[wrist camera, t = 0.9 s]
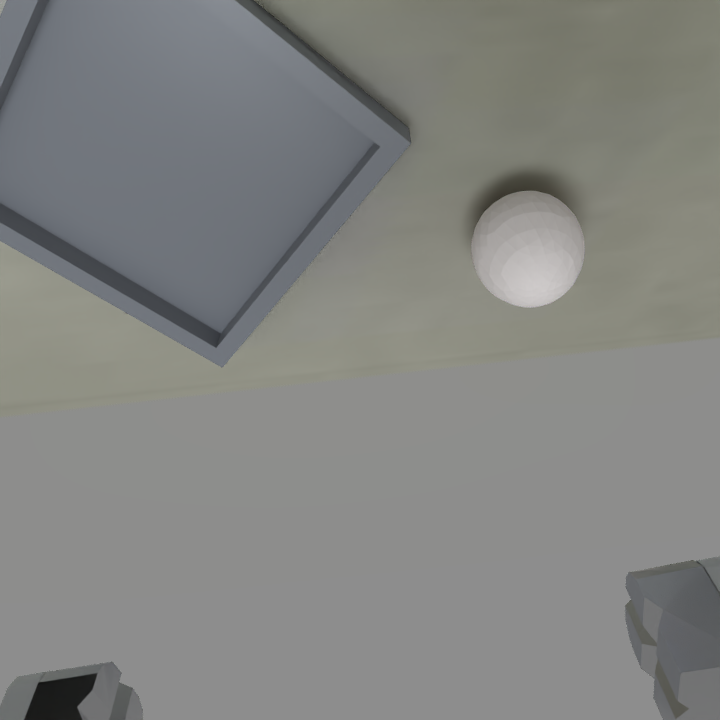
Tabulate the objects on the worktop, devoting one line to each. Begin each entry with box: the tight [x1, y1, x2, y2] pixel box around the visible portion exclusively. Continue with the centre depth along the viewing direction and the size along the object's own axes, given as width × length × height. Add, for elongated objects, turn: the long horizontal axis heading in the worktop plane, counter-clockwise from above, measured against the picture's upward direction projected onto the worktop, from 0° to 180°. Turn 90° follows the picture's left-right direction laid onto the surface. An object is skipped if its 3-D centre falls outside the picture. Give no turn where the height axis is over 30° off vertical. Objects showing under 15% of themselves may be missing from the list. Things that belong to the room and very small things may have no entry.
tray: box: [0, 0, 411, 367], centre depth 38 cm, size 20×20×2 cm
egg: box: [471, 191, 585, 307], centre depth 38 cm, size 6×6×8 cm
